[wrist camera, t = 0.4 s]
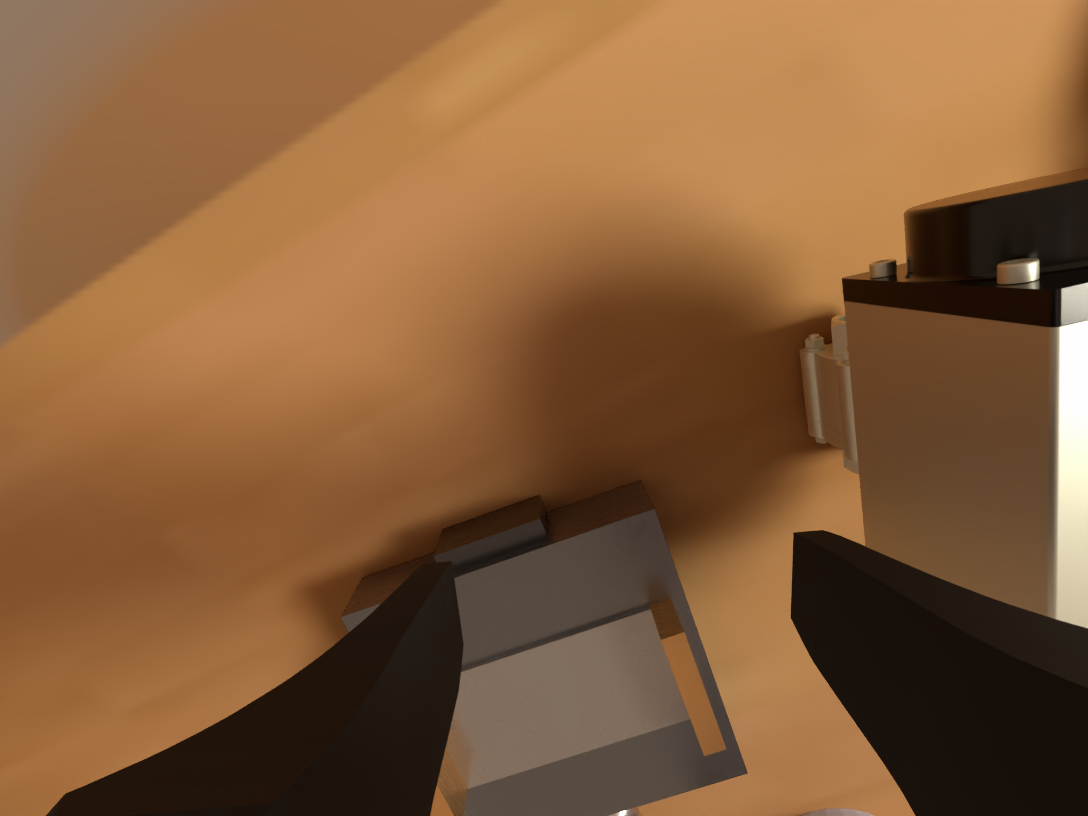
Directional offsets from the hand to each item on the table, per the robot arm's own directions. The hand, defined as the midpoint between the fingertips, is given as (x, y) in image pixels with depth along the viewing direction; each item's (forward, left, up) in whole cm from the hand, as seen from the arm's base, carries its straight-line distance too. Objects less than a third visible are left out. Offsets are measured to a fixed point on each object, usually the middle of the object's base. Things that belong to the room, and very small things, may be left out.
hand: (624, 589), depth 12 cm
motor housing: (-8, +4, -9) cm, 13 cm away
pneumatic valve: (-1, -10, -10) cm, 14 cm away
